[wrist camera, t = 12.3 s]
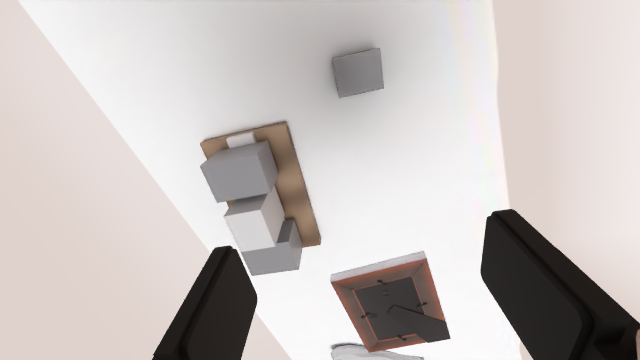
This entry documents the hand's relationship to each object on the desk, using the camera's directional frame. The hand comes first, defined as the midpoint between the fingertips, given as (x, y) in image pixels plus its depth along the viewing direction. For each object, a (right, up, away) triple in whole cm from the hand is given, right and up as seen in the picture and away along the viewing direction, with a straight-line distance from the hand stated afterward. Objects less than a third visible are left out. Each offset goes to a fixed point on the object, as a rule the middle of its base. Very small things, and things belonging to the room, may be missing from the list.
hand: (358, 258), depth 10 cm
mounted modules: (-10, 0, +28) cm, 29 cm away
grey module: (-9, 0, +27) cm, 29 cm away
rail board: (-9, +1, +30) cm, 31 cm away
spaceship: (+12, -35, +47) cm, 60 cm away
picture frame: (+12, -20, +40) cm, 46 cm away
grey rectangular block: (+3, +16, +22) cm, 27 cm away
